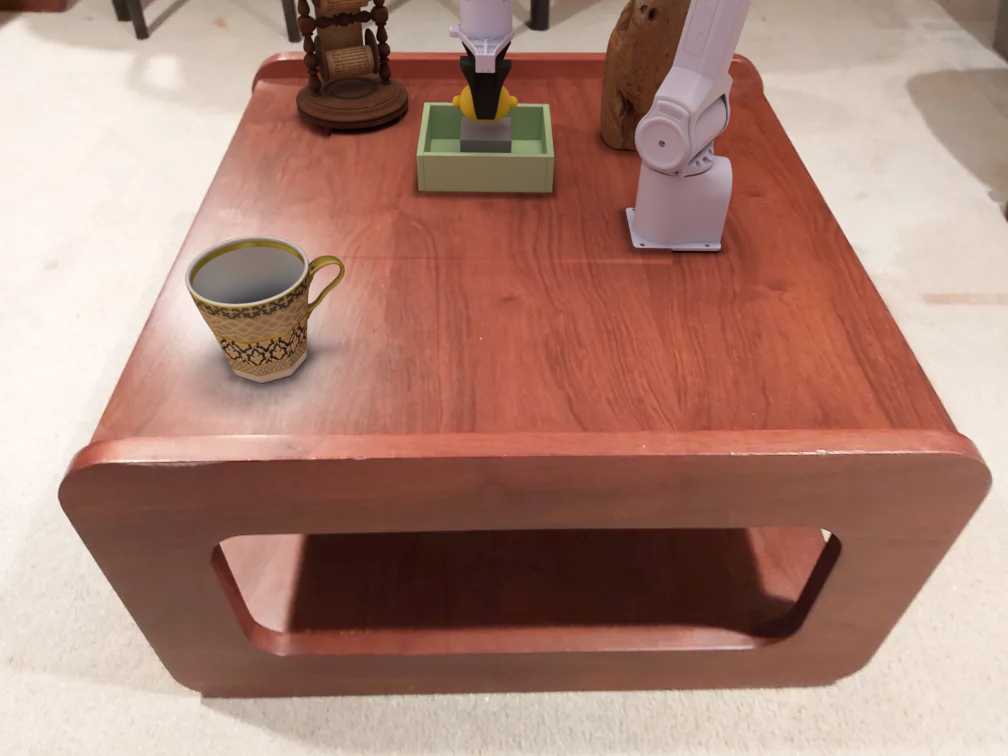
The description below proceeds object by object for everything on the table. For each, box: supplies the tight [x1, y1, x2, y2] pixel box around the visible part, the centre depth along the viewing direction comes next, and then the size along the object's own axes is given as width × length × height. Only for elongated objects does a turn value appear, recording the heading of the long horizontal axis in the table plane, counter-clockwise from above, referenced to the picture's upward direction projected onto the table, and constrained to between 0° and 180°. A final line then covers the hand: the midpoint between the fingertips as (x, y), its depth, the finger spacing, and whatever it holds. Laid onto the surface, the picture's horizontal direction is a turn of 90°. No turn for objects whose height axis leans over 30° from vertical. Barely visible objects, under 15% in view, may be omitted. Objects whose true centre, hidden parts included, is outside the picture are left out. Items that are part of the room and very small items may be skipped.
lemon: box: [451, 84, 519, 122], centre depth 95 cm, size 8×4×4 cm, turn 90°
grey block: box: [460, 117, 512, 153], centre depth 99 cm, size 6×6×4 cm
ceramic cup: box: [184, 235, 346, 384], centre depth 72 cm, size 13×10×10 cm
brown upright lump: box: [599, 0, 691, 152], centre depth 99 cm, size 11×8×20 cm
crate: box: [415, 101, 555, 193], centre depth 99 cm, size 16×14×5 cm
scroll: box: [295, 0, 409, 136], centre depth 104 cm, size 15×15×20 cm
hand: (486, 108), depth 96 cm, fingers closed on lemon, 4 cm apart
